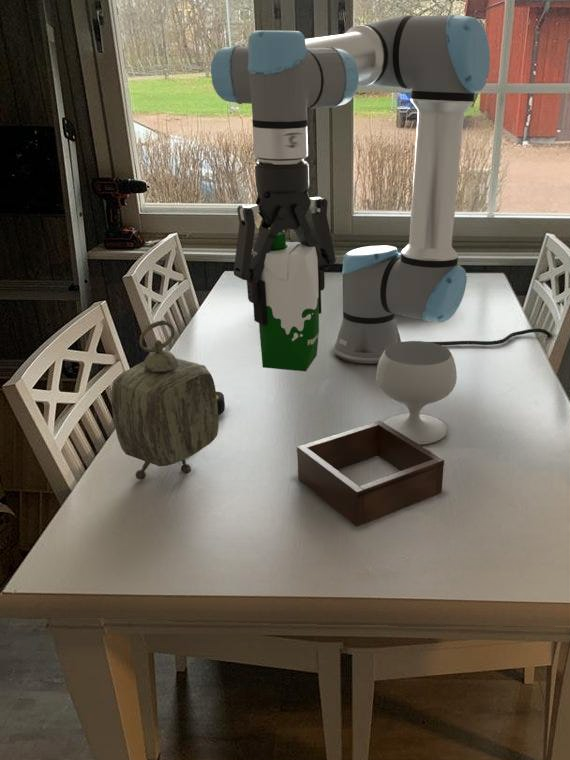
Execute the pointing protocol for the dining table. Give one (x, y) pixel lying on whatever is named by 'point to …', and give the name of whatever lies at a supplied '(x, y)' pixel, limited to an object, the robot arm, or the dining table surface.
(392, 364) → the chalice
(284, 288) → the soya milk
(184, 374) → the tabletop clock
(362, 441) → the crate
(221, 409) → the tape measure
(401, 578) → the dining table surface
